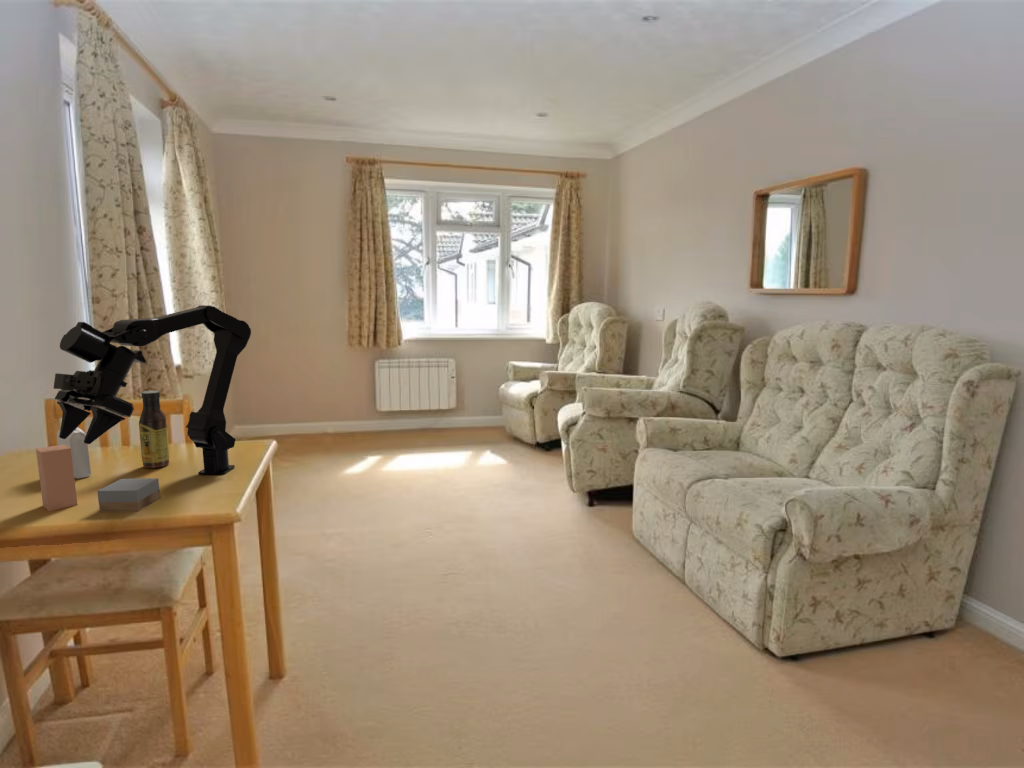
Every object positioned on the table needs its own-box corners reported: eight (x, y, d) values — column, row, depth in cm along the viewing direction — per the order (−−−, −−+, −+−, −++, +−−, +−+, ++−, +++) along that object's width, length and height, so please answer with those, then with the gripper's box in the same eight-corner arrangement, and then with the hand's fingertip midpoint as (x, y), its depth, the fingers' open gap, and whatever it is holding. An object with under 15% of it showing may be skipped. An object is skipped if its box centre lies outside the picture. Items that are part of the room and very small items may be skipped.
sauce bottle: (140, 465, 156) (132, 391, 153) (166, 461, 160) (159, 388, 157) (146, 471, 151) (138, 394, 148) (173, 466, 156) (166, 391, 153)
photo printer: (58, 473, 150) (52, 425, 148) (78, 469, 153) (73, 422, 152) (73, 480, 144) (67, 430, 142) (94, 476, 147) (88, 427, 146)
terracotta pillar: (71, 499, 131) (64, 444, 129) (77, 504, 127) (70, 448, 126) (43, 505, 127) (35, 448, 125) (48, 511, 124) (41, 452, 122)
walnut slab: (124, 500, 131) (122, 489, 131) (160, 500, 132) (159, 489, 131) (100, 513, 124) (98, 502, 123) (139, 513, 124) (137, 502, 123)
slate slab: (122, 489, 131) (121, 478, 131) (159, 489, 131) (158, 478, 131) (98, 502, 123) (97, 490, 123) (137, 502, 123) (136, 490, 123)
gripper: (49, 353, 125) (8, 422, 119) (99, 357, 116) (58, 431, 111) (99, 376, 134) (64, 441, 128) (150, 381, 125) (114, 451, 120)
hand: (74, 440), depth 122 cm, fingers open, 9 cm apart
